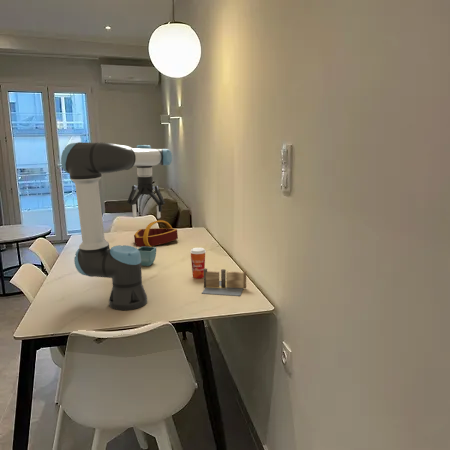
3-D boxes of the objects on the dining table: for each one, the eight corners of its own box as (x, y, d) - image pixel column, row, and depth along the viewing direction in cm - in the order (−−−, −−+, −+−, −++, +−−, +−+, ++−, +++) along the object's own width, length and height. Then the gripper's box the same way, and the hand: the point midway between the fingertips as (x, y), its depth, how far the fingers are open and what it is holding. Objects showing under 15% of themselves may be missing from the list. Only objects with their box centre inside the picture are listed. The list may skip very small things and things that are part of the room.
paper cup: (189, 279, 190) (188, 251, 187) (192, 274, 197) (191, 247, 195) (205, 279, 189) (204, 251, 186) (207, 274, 196) (207, 247, 194)
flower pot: (151, 267, 209) (150, 251, 207) (135, 266, 210) (135, 250, 209) (157, 262, 217) (156, 247, 215) (142, 262, 219) (141, 246, 217)
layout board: (240, 296, 168) (240, 295, 168) (201, 293, 171) (201, 292, 171) (245, 282, 184) (245, 282, 184) (210, 280, 187) (210, 280, 187)
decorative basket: (157, 238, 286) (153, 218, 284) (190, 236, 273) (187, 214, 271) (126, 249, 257) (122, 227, 255) (162, 248, 243) (158, 224, 241)
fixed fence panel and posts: (225, 288, 177) (225, 270, 175) (203, 287, 179) (203, 269, 177) (226, 287, 179) (225, 269, 177) (204, 286, 180) (204, 268, 179)
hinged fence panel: (226, 287, 177) (226, 271, 175) (227, 286, 178) (226, 270, 177) (245, 288, 175) (245, 272, 173) (246, 287, 176) (246, 271, 175)
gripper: (170, 176, 199) (172, 217, 203) (126, 175, 206) (128, 215, 210) (164, 176, 192) (166, 219, 196) (118, 176, 198) (121, 217, 202)
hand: (146, 217), depth 203 cm, fingers open, 13 cm apart
